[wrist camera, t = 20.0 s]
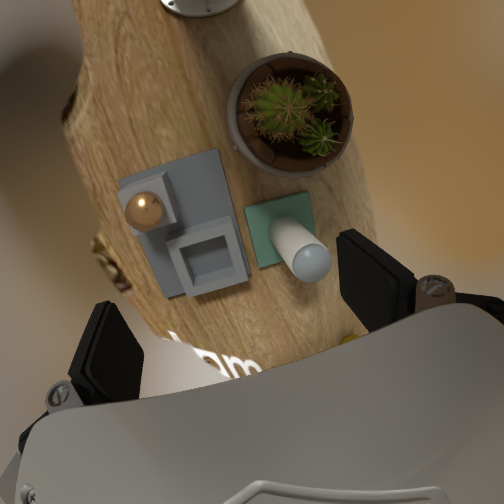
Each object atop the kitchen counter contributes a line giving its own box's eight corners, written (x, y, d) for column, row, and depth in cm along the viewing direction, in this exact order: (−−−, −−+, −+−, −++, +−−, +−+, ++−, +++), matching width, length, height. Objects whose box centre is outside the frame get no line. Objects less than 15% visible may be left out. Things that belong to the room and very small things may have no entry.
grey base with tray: (120, 179, 35) (107, 187, 30) (216, 147, 36) (220, 150, 31) (165, 295, 44) (162, 316, 39) (249, 270, 45) (257, 290, 40)
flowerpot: (322, 77, 34) (411, 52, 16) (313, 172, 40) (395, 210, 23) (224, 62, 31) (251, 3, 14) (216, 166, 38) (234, 200, 20)
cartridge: (264, 219, 41) (290, 251, 30) (296, 211, 42) (332, 240, 31) (270, 249, 43) (295, 289, 32) (300, 241, 44) (334, 277, 33)
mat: (243, 207, 41) (244, 209, 40) (306, 190, 41) (308, 192, 41) (257, 265, 45) (259, 268, 44) (315, 248, 46) (317, 250, 45)
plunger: (131, 189, 34) (119, 201, 29) (161, 179, 35) (154, 189, 29) (142, 219, 36) (132, 235, 31) (171, 209, 37) (166, 224, 31)
